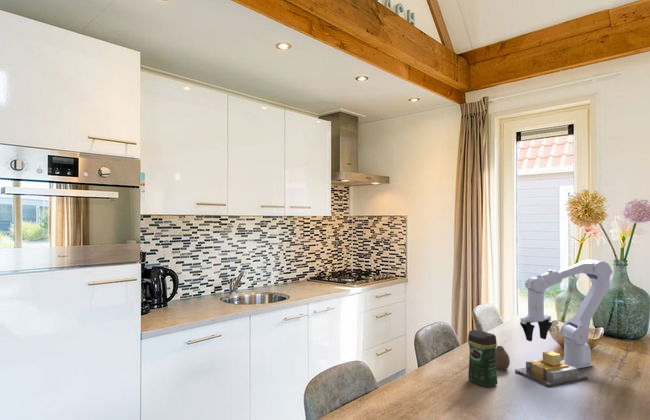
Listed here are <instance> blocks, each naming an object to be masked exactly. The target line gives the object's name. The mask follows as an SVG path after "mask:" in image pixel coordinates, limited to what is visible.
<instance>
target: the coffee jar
mask: <svg viewBox="0 0 650 420" xmlns="http://www.w3.org/2000/svg"><path fill="white" fill-rule="evenodd" d="M467 336H468V337H467V343H468V348H469V362H468V374H467V375H468V380H469V382H472V383H473V384H475V385H478V386H480V387H484V388H487V387H488V388H489V387H490V388H491V387H492V388H493V387H495V386H497V384H498V373H497V370H496V361H495V349H496V347H497V346H498V341H497V337H496V335H495V334H494V333H490V332H487V331H483V330H480V329H473V330H472V329H471V330H470V331H469V332H468V335H467Z"/></svg>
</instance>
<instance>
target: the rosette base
mask: <svg viewBox="0 0 650 420" xmlns="http://www.w3.org/2000/svg"><path fill="white" fill-rule="evenodd" d="M514 372H515V373H516V374H519V375H521V376H523V377H525V378H527V379H530V380H531V381H535V382H537V383H538V384H540V385H543V386H545V387H547V388H552V387H553V388H554V387H556V386H557V387H558V386H563V385H566V384H567V385H568V384H571V383H576V382H577V383H578V382H581V381H587V380H589V376H588V375H585V374H583V373H580V372H578V369H577V368H574V367H572V366H569V365H566V364H564V363H561V365H560V366H554V367H551V366H548V365H546V364H543V358H539V359H533V360H528V361H525V367H522V368H517V369H516V368H515V370H514Z"/></svg>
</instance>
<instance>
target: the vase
mask: <svg viewBox="0 0 650 420" xmlns="http://www.w3.org/2000/svg"><path fill="white" fill-rule="evenodd" d="M495 361H496V371H500V372H501V371H502V372H504V371H506V370H508V369H509V367H510V364H511V363H510V362H511V360H510V356H509V353H508V352H507V351H506V350H505V347H504V346H503V345H497V346H496V349H495Z"/></svg>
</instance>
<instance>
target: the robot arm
mask: <svg viewBox="0 0 650 420" xmlns="http://www.w3.org/2000/svg"><path fill="white" fill-rule="evenodd" d="M579 274H585V275H586V276H587V277H588V279H589V280H590V283H591V286H590V288H589V289H588V291H587V293H586V295H585V296H584V299H583V301H582V302H581V303H580V306H579V308H577V311H576V313H575V315H574V316H573V317H571V318H568V320H567V321H566V323H563V325H561V328H560V335H561V336H562V337H563V355H564V356H563V360H561V363H564V364H566V365H569V366H572V367H574V368H577V370H579V369H583V368H587V367H593V366H594V364H592V362H591V361H592V359H591V358H592V354H591V353H592V352H591V351H592V350H591V347H590V345H589V343H588V341H589V334H590V332H591V329H590V326H589V325H590V322H591V320H592V319H593V317H594V315H595V313H596V312H597V310H598V308H599V306H600V305H601V303H602V300H603V299H604V297H605V295H606V294H607V292H608V290H609V289H610V284H611V275H612V274H613V270H612V268H611V266H610V264H609V263H608V262H606V261H604V260H603V261H602V260H595V259H592V258H587V259H584V260H580V261H579V262H577V263H575V264H572V265H570V266H568V267H565V268H563V269H560V270H556V269H548V270H547V272H545V273H542V274H537V275H536V276H530V277H528V278H527V279H526V281H525V283H524V285H525V288H526V289H527V309H528V310H527V312H528V313H527V315H526V316H525V317H522V318H521V317H520V323H519V325H520V327H521V329H523V333H524V335H525V339H526V341H528V342H533V334H534V333H533V332H534V329H535V327H536V325H534V323H537V325H538V329H539V337H540V339H542V340H546V339H547V336H548V333H549V330H550V328H551V326H553V322H551V321H552V316H550V315H548V314H547V315H546V314H545V307H544V294H545V293H544V292H545V291H546V289H548V288H551V287H554V286H556V285H559V284H561V283H562V282H563V280H565V279H567V278H570V277H573V276H576V275H579ZM532 323H533V324H532Z"/></svg>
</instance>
